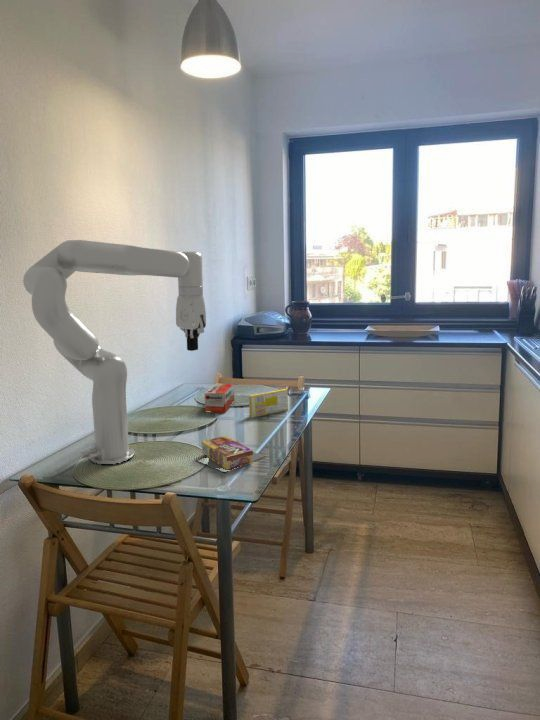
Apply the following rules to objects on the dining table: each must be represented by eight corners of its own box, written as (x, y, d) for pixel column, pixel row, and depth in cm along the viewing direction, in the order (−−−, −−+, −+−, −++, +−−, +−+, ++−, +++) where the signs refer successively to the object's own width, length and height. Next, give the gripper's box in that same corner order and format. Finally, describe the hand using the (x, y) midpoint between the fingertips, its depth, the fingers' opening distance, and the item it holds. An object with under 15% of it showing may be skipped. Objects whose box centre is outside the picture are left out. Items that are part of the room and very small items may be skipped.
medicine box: (215, 401, 220) (214, 382, 218) (234, 402, 219) (234, 383, 217) (204, 413, 205) (203, 392, 204) (225, 414, 204) (225, 393, 202)
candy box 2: (285, 409, 209) (285, 388, 208) (288, 410, 208) (288, 389, 206) (248, 416, 201) (248, 394, 199) (251, 417, 199) (251, 396, 197)
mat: (224, 473, 151) (224, 472, 151) (196, 461, 159) (196, 460, 159) (265, 457, 162) (265, 456, 162) (236, 446, 170) (236, 445, 170)
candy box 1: (201, 454, 164) (226, 470, 151) (201, 441, 163) (225, 456, 151) (227, 448, 169) (253, 463, 156) (227, 435, 168) (253, 449, 155)
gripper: (166, 291, 172) (168, 348, 176) (196, 294, 162) (198, 354, 166) (185, 290, 177) (187, 345, 181) (215, 292, 167) (217, 351, 171)
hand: (192, 349), depth 173 cm, fingers closed
